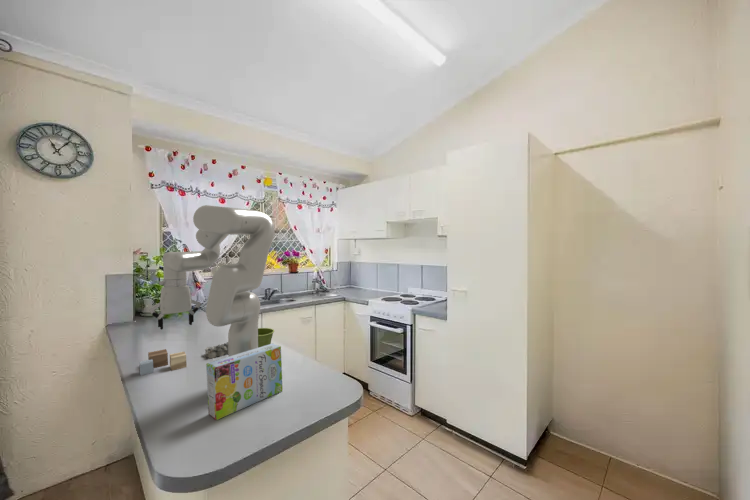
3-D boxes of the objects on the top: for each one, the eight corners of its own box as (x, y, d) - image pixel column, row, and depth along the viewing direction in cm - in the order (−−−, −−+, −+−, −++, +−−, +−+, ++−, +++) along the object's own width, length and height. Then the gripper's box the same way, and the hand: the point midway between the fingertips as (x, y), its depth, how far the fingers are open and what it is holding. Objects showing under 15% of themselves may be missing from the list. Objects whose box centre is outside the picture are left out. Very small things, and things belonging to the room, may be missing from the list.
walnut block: (168, 365, 124) (167, 353, 124) (149, 369, 121) (149, 356, 120) (166, 360, 129) (166, 349, 129) (148, 364, 125) (148, 352, 125)
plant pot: (265, 364, 123) (264, 336, 123) (238, 362, 126) (238, 335, 125) (280, 353, 135) (279, 328, 135) (255, 352, 137) (254, 327, 137)
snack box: (273, 386, 105) (272, 342, 104) (283, 391, 101) (282, 345, 101) (207, 414, 88) (205, 362, 88) (216, 421, 85) (214, 367, 84)
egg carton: (209, 360, 130) (208, 350, 130) (203, 355, 135) (203, 346, 135) (235, 353, 137) (235, 344, 137) (229, 349, 143) (229, 340, 142)
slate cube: (153, 372, 117) (153, 362, 117) (140, 375, 115) (139, 365, 115) (152, 369, 120) (152, 359, 120) (139, 372, 118) (139, 361, 118)
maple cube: (186, 367, 122) (186, 354, 122) (171, 370, 119) (171, 357, 119) (184, 363, 126) (184, 351, 126) (170, 366, 123) (169, 354, 123)
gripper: (148, 286, 113) (149, 332, 114) (202, 282, 124) (202, 324, 124) (147, 284, 119) (148, 328, 120) (198, 280, 130) (199, 320, 130)
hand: (176, 326), depth 122 cm, fingers open, 9 cm apart
